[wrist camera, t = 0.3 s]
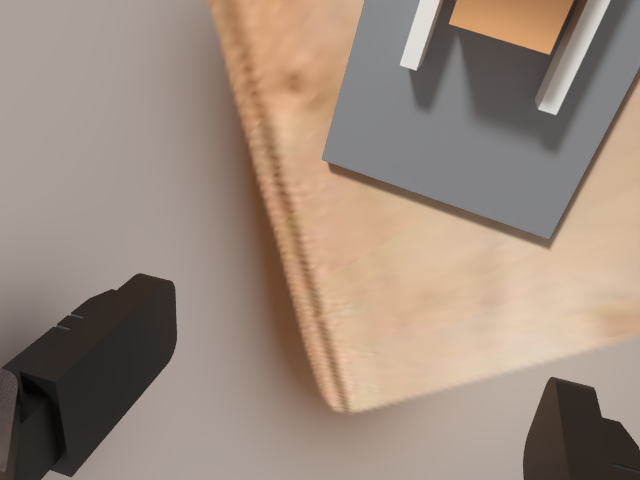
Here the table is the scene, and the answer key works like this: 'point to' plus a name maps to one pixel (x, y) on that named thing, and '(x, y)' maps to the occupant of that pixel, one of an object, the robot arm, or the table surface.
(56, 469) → the robot arm
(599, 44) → the channel
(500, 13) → the block
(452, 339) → the table surface
